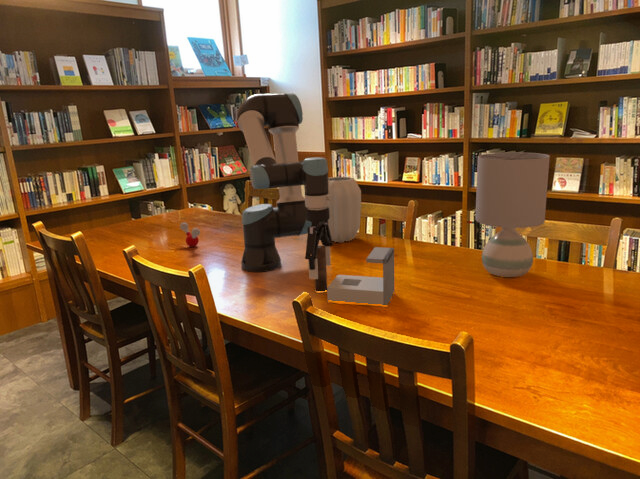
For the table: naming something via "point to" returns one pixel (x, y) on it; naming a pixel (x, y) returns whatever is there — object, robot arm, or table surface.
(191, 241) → the molecular model
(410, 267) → the table surface
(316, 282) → the dowel
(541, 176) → the lamp
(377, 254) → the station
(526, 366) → the table surface
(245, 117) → the robot arm
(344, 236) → the vase
